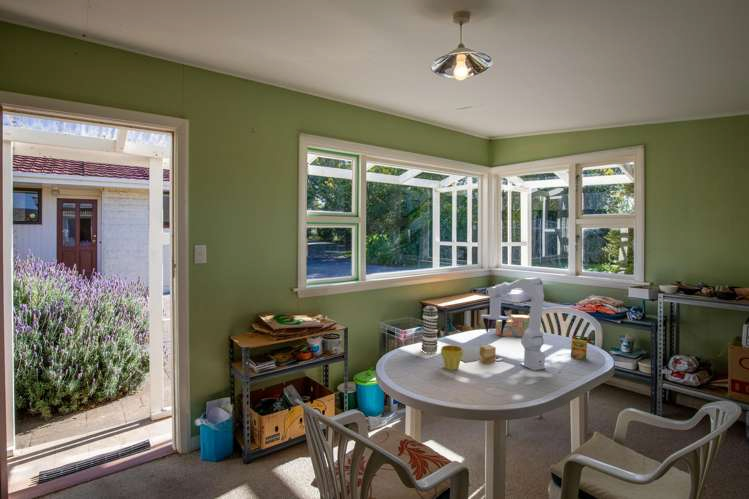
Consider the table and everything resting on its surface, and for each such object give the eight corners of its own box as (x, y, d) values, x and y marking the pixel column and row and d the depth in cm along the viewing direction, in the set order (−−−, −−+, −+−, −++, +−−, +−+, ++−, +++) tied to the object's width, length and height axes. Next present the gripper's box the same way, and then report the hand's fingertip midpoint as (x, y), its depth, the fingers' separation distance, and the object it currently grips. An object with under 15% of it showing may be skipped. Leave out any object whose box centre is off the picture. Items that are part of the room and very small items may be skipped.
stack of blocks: (497, 335, 261) (498, 316, 260) (495, 333, 267) (496, 314, 266) (532, 337, 259) (533, 317, 258) (530, 334, 265) (530, 315, 264)
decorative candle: (429, 355, 223) (430, 309, 221) (417, 351, 230) (418, 306, 228) (441, 352, 229) (442, 307, 227) (428, 347, 236) (429, 304, 234)
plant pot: (446, 372, 200) (446, 352, 199) (437, 364, 210) (437, 345, 209) (466, 370, 202) (466, 350, 202) (456, 363, 212) (456, 344, 212)
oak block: (495, 362, 213) (495, 347, 213) (485, 364, 211) (486, 349, 210) (488, 359, 218) (489, 344, 217) (479, 361, 215) (479, 346, 215)
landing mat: (499, 356, 222) (499, 356, 222) (465, 362, 213) (465, 361, 213) (478, 346, 238) (478, 346, 238) (445, 351, 229) (445, 351, 229)
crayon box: (570, 357, 222) (571, 336, 221) (570, 356, 225) (571, 334, 223) (586, 360, 218) (587, 338, 217) (586, 358, 221) (587, 336, 220)
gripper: (509, 307, 232) (508, 331, 233) (482, 305, 237) (481, 329, 238) (509, 310, 226) (508, 335, 227) (481, 308, 230) (480, 332, 231)
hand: (494, 332), depth 232 cm, fingers open, 7 cm apart
